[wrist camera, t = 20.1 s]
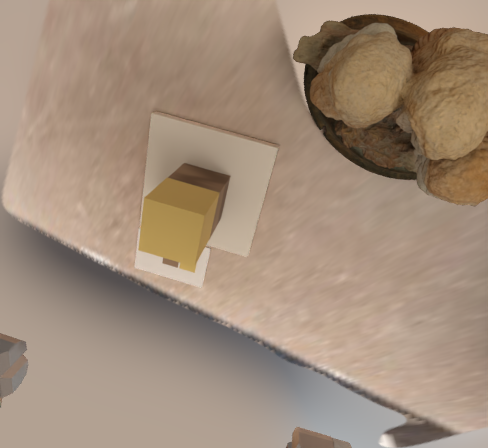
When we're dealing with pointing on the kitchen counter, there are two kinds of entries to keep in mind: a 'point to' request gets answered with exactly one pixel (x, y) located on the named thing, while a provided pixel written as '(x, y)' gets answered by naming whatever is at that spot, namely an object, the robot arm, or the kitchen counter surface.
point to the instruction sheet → (173, 266)
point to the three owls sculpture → (403, 101)
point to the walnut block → (205, 184)
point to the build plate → (219, 160)
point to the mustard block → (177, 221)
